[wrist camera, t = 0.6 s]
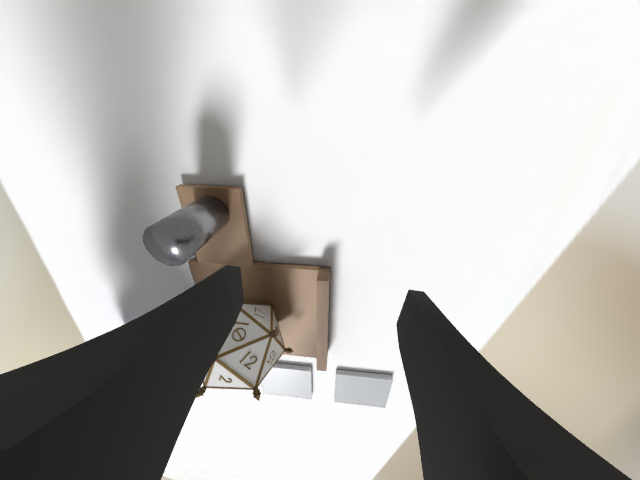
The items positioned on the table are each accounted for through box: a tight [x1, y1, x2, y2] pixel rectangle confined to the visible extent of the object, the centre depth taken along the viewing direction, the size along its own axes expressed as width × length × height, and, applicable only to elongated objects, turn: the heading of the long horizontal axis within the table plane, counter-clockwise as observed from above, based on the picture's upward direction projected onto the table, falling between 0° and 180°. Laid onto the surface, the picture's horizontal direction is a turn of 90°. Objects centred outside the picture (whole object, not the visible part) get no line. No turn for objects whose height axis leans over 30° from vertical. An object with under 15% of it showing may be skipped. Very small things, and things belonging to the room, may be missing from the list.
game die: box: [196, 302, 294, 400], centre depth 21 cm, size 9×8×10 cm
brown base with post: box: [143, 184, 330, 371], centre depth 20 cm, size 13×19×6 cm
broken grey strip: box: [261, 363, 392, 408], centre depth 29 cm, size 16×6×1 cm, turn 90°
